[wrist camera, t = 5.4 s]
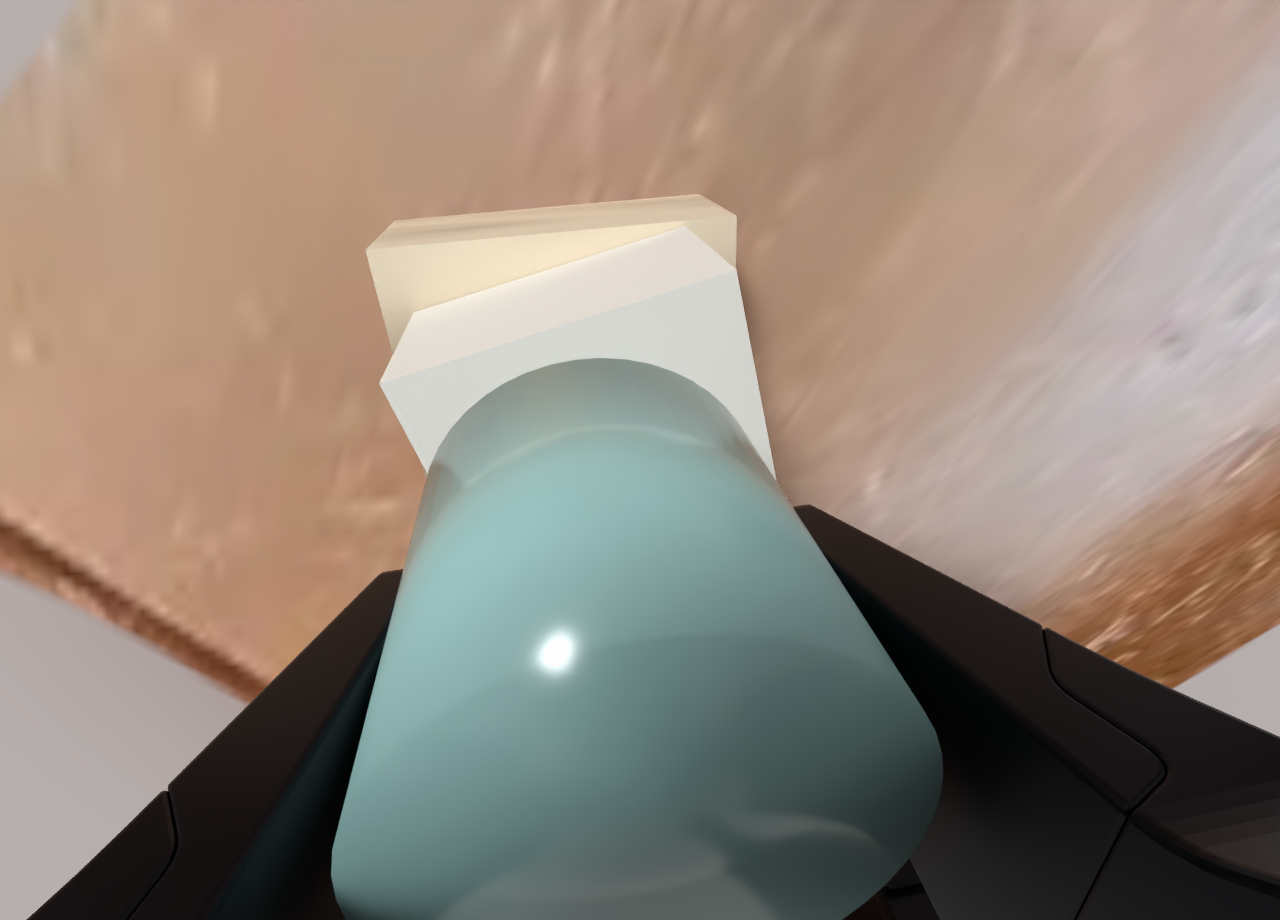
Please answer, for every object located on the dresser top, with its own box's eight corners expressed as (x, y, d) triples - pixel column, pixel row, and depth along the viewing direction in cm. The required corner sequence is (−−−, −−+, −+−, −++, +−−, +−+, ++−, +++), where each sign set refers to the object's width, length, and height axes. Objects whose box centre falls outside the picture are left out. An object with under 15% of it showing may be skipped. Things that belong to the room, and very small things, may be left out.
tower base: (699, 446, 19) (732, 512, 16) (458, 477, 18) (445, 552, 15) (695, 191, 16) (736, 216, 13) (397, 218, 15) (365, 249, 12)
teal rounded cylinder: (757, 612, 11) (902, 938, 7) (464, 663, 11) (423, 1047, 6) (762, 334, 9) (998, 576, 4) (378, 385, 8) (217, 711, 4)
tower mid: (737, 458, 15) (789, 548, 12) (516, 529, 15) (514, 636, 12) (685, 226, 12) (736, 269, 9) (413, 312, 12) (379, 383, 10)
